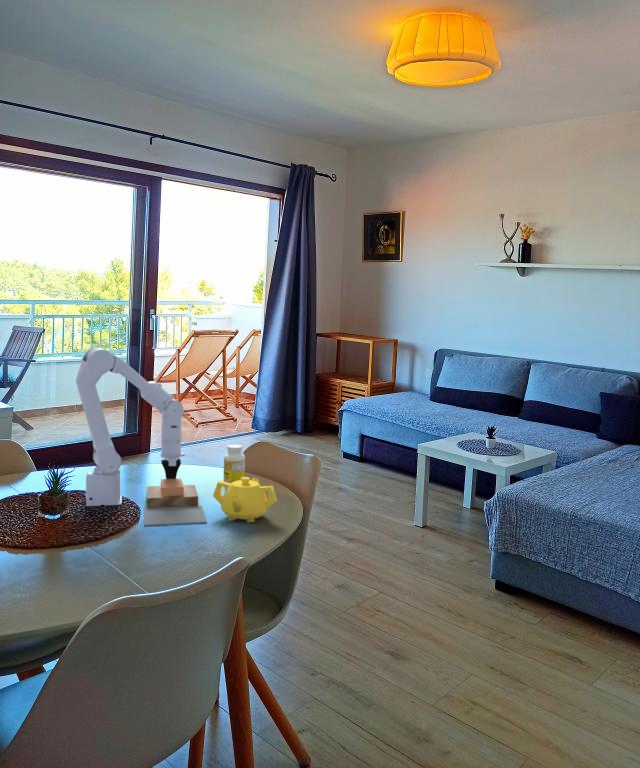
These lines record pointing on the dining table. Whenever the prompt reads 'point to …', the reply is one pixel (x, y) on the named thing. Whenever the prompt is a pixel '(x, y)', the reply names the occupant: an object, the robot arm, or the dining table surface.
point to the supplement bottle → (234, 464)
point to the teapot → (244, 498)
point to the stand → (171, 497)
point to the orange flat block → (172, 487)
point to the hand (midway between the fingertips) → (170, 484)
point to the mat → (174, 515)
